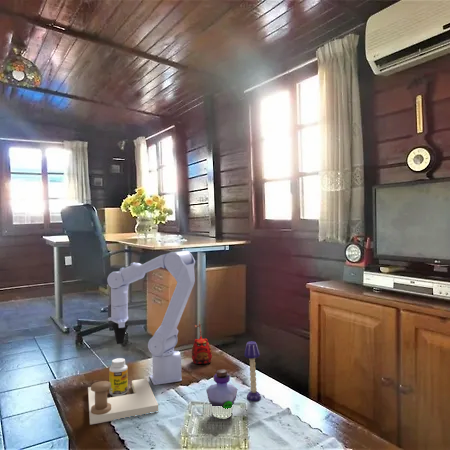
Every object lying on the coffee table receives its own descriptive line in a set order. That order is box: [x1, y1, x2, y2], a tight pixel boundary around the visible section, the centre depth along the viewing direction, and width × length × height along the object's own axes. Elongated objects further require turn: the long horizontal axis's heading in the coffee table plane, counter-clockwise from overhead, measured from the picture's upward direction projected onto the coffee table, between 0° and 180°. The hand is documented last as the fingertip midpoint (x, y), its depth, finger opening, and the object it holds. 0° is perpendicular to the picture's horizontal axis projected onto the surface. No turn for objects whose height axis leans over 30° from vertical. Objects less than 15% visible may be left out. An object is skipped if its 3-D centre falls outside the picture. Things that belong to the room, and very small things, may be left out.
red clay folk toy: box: [191, 320, 213, 365], centre depth 146 cm, size 8×7×15 cm
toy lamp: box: [243, 340, 262, 402], centre depth 115 cm, size 5×5×17 cm
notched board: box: [87, 378, 159, 426], centre depth 113 cm, size 18×20×9 cm
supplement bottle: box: [108, 357, 129, 397], centre depth 119 cm, size 6×6×10 cm
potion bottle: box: [205, 369, 238, 409], centre depth 105 cm, size 9×9×12 cm
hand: (119, 343), depth 136 cm, fingers closed
